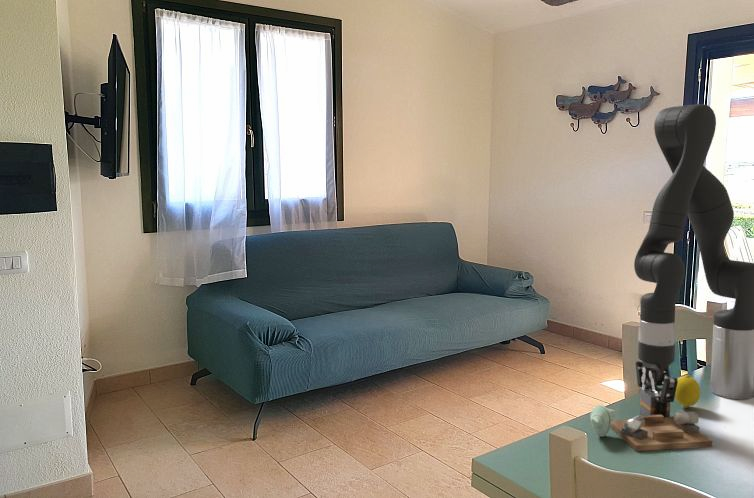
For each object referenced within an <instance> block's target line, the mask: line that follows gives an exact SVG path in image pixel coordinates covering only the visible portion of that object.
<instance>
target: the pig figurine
mask: <svg viewBox="0 0 754 498" xmlns="http://www.w3.org/2000/svg"><path fill="white" fill-rule="evenodd" d="M616 413H617V411H616V410H614V409H610V408H607V407H606V406H605V405H602V404H597V405H595V406H594V407H593V408H592V410H591V411H590V415H589V417H590V421H591V426H592V429H593V430H594V432H595V434H596V435H597V436H598V437H602V438H603V437H605V436H606V435H607V434H608V433H609V432H610V429H611V423H612V420H614V416H615V414H616Z"/></svg>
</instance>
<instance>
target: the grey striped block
mask: <svg viewBox="0 0 754 498" xmlns="http://www.w3.org/2000/svg"><path fill="white" fill-rule="evenodd" d="M661 392H662V391H660V397H661ZM668 395H670V394H668ZM639 404H640V405H639V414H640V415H639V416H646V415H655V407H656V397H655V392H654V391H653V390H652V389H641V388H640V400H639ZM666 417H671V402H667V415H666Z"/></svg>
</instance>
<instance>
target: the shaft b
mask: <svg viewBox="0 0 754 498" xmlns="http://www.w3.org/2000/svg"><path fill="white" fill-rule="evenodd" d="M635 416H636V417H635ZM635 416H634V417H632V418H629V419H630V420H628V421H627V422H625V424H624V427H622V434H625V435H628V436H631V437H634V438H636V439H639V440H643V439H645V438H647V437H648V431H645V430H642V429H640V428H642V427H643V426H644V425H645V420H644V419H643V418H642V417H641V416H642V415H635Z"/></svg>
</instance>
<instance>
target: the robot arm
mask: <svg viewBox="0 0 754 498" xmlns="http://www.w3.org/2000/svg"><path fill="white" fill-rule="evenodd" d="M714 111H715V110H713V109H712V107H711V106H709V104H705V103H698V104H687V105H679V106H671V107H670V106H669V107H666V108H663V109H661V110H660V111H659V112H658V113H657V115H656V116H655V118H654V124H653V125H654V126H653V130H654V135H655V140H656V142H657V144H658V146H659V148H660V150H661V153H662V154H663V157H664V159H665V162H667V165H668V166H669V169H670V171H671V173H672V175H671V176H670V178H668V180H667V181H666V183H664V185H663V186H662V188H661V189H660V191H659V192H658V194H657V196H656V198H655V199H654V202H653V206H652V211H651V216H650V221H649V226H648V231H647V233H646V234H645V236H644V237H643V240H642V242H641V244H640V247H639V249H638V251H637V252H636V254H635V256H634V257H635V259H634V263H633V266H634V267H633V268H634V272H635V275H636V276H637V277H638V278H639V279H640V280H642V281H644V282H649V283H653V284H654V283H655V284H656V285H655V289H654V291H653V292H648V293H644V294H643V295H642V296H641V299H640V309H639V311H640V313H639V315H640V317H639V325H638V335H637V336H638V339H637V341H638V342H637V343H638V345H637V358H638V361H635V369H636V370H635V371H636V382H637V387H638V388H640V390H641V389H652V390H653V391H654V392H655V397H656V407H655V415H663V416H664V418H666V415H667V402H670V403H674V401H675V393H676V388H677V383H678V380H677V379H678V378H677V377H672V376H671V372H670V367H669V366H671V364H673V363H674V362H675V359H676V358H675V357H676V336H677V335H676V331H677V330H676V325H675V324H676V323H675V322H676V319H675V318H676V302H677V300H678V298H679V294H680V291H681V289H682V286H683V283H684V279H685V275H686V267H685V264H684V261H683V259H682V258H681V257H680V256H679V255H678V254H676V253H672V252H671V253H670V252H665V251H666V249H667V247H668V245H670V244H672V243H673V244H674V243H678V242H680V241H682V239H683V236H684V233H685V228H686V223H687V219H688V220H689V223H690V225H691V227H692V230H693V233H694V237H695V240H696V243H697V246H698V249H699V252H700V257H701V261H702V267H703V271H704V275H705V280H706V283H707V286H708V288H709V290H710V291H711V293H713V294H714V295H717V296H719V297H724V298H727V299H728V298H729V299H733V300H735V302H734V305H733V308H729V309H723V310H718V311H716V312H715V313H714V314H713V322H712V323H713V325H712V346H711V368H710V369H711V371H710V391H711V392H712V393H713V394H715V395H717V396H719V397H723V398H727V399H732V400H733V399H735V400H748V399H751V398H753V397H754V262H748V261H740V260H733V259H730V258H729V257H728V254H727V252H726V250H725V249H726V248H725V240H726V237H727V235H728V233H729V231H730V229H731V227H732V224H733V222H734V218H735V212H734V209H733V204H732V202H731V199H730V196H729V193H728V191H727V188H726V187H725V186H724V184H723V183H722V182H721V181H720V179H718V178H717V176H715V175H714V174H713V173H712V172H711V171H710V170H709V169H708V168H706V167H705V166H704V164H705V162H706V159H707V156H708V153H709V151H710V149H711V145H712V143H713V140H714V136H715V133H716V126H717V117H716V114H715V112H714ZM661 386H662V387H661ZM660 391H662V392H661V397H660ZM668 394H669V395H668Z"/></svg>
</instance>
